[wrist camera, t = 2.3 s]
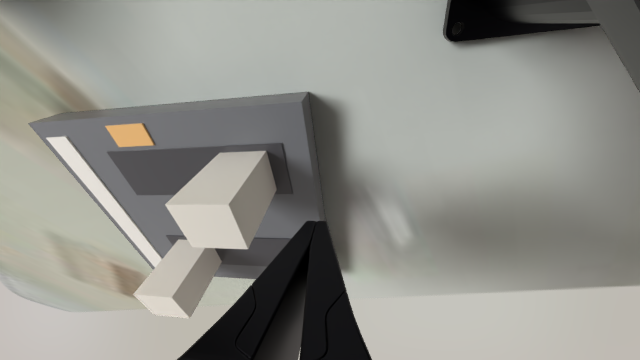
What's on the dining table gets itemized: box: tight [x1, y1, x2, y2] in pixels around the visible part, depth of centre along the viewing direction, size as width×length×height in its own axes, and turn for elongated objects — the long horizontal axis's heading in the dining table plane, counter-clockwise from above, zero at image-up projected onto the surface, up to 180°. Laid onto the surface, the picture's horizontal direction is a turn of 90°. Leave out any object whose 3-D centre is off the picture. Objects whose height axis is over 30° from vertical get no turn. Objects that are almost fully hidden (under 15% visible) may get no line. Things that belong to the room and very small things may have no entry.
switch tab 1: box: [165, 151, 277, 249], centre depth 12 cm, size 3×3×5 cm
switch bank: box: [28, 92, 326, 279], centre depth 18 cm, size 18×16×2 cm
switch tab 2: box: [133, 240, 222, 318], centre depth 18 cm, size 3×3×5 cm
